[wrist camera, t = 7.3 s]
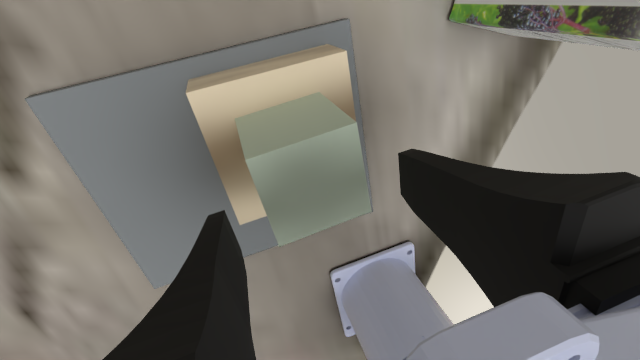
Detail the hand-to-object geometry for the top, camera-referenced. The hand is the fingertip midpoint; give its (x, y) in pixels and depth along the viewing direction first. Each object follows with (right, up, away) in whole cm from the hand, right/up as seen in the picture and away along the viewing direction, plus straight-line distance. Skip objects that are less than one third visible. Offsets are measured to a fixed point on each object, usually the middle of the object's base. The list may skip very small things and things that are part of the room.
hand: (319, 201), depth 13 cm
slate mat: (-5, +2, +8) cm, 10 cm away
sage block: (-2, +3, +5) cm, 6 cm away
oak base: (-3, +4, +7) cm, 9 cm away
